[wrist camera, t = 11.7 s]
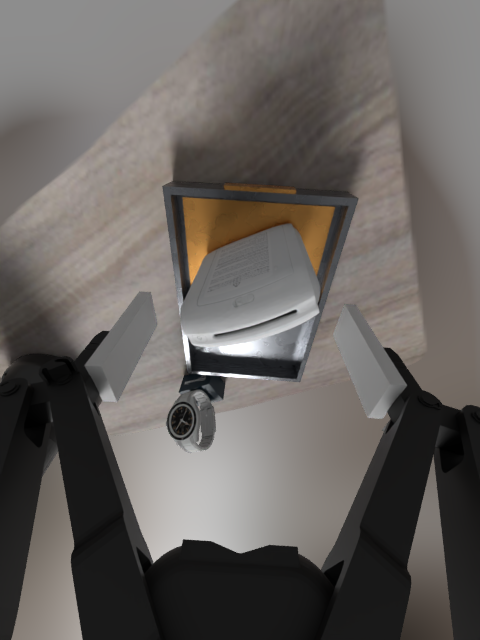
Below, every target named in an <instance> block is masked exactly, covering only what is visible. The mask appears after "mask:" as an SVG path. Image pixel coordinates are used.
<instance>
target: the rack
mask: <svg viewBox="0 0 480 640" xmlns="http://www.w3.org/2000/svg"><path fill="white" fill-rule="evenodd" d="M162 187H163V194H164V201H165V209H166V216H167V224H168V231H169V238H170V246H171V253H172V261H173V268H174V276H175V283H176V290H177V298H178V305H179V313H180V311H181V306H182V304H183V302H184V300H185V298H186V295H187V293H188V291H189V289H190V287H191V285H192V283H193V281H194V278H195V276H196V274H197V272H198V270H199V268H200V265H201V263H202V261H203V259H204V257H205V256H206V255H208V254H209V253H211V252H212V251H214V250H216V249H218V248H221V247H223V246H225V245H228V244H230V243H233V242H235V241H238V240H240V239H243V238H245V237H248V236H250V235H253V234H256V233H258V232H261V231H263V230H266V229H269V228H272V227H275V226H278V225H282V224H288V223H291V224H292V225H293V227H294V228H295V229H296V230H297V231H298V232H299V233H300V235H301V238H302V240H303V243H304V245H305V248H306V251H307V253H308V256H309V258H310V261H311V263H312V266H313V269H314V271H315V274H316V276H317V279H318V281H319V285H320V297H319V301H318V304H317V305H318V308H319V314H317V315H316V316H314V317H312V318H311V319H309V320H307V321H306V322H304V323H302V324H300V325H298V326H295V327H293V328H291V329H289V330H286V331H283V332H281V333H278V334H275V335H272V336H269V337H266V338H262V339H259V340H255V341H251V342H247V343H242V344H237V345H230V346H222V347H200V346H194V345H193V344H191V342H190V340H189V338H188V337H187V336H186V335H185V334H184V333H183V331H182V335H183V342H184V350H185V357H186V365H187V372H188V373H189V374H202V375H215V376H227V377H240V378H253V379H266V380H279V381H292V382H300V381H301V378H302V375H303V372H304V369H305V365H306V362H307V359H308V356H309V353H310V350H311V346H312V343H313V340H314V337H315V334H316V331H317V328H318V324H319V321H320V318H321V315H322V312H323V309H324V305H325V302H326V299H327V296H328V293H329V290H330V287H331V283H332V280H333V277H334V274H335V271H336V268H337V265H338V261H339V258H340V255H341V252H342V249H343V246H344V242H345V239H346V236H347V233H348V230H349V227H350V224H351V220H352V217H353V214H354V211H355V208H356V205H357V202H358V198H357V197H355V196H354V195H352V194H350V193H349V192H342V191H326V190H309V189H295V187H289V186H273V185H257V184H240V183H225V184H213V183H197V182H180V181H172V182H170V183H168V184H166V185H164V186H162ZM181 328H182V327H181Z"/></svg>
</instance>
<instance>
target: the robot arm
mask: <svg viewBox="0 0 480 640" xmlns="http://www.w3.org/2000/svg"><path fill="white" fill-rule="evenodd" d="M156 326H157V319H156V315H155V310H154V305H153V300H152V295H151V292H139V293H138V294H137V296H136V297H135V298H134V300H133V301H132V302H131V304H130V305H129V306H128V308H127V309H126V310H125V312H124V313H123V314H122V316H121V317H120V318H119V320H118V321H117V322H116V324H115V325H114V326H113V328H112V329H111V330H110V331H102V332H100V333H99V334H97V335H96V336H95V337H94V338H93V339H92V340H91V342H90V343H89V344H88V345H87V347H86V348H85V350H83V351H82V353H81V354H80V355H79V356H78V358H77V359H76V360H75V361H73V360H72V359H71V358H70V357H54V356H50V355H43V354H29V355H25V356H22V357H20V358H18V359H17V360H16V361H15V362H14V363H13V364H12V365H10V366H9V367H8V368H7V369H6V371H5V372H4V374H3V376H2V381H1V383H0V640H11V638H12V634H13V630H14V626H15V621H16V617H17V612H18V607H19V601H20V596H21V591H22V585H23V579H24V574H25V569H26V562H27V557H28V552H29V546H30V541H31V535H32V530H33V524H34V519H35V513H36V507H37V502H38V496H39V490H40V485H41V479H42V476H43V474H44V473H45V471H46V470H47V468H48V467H49V465H50V463H51V462H52V460H53V459H54V457H55V456H56V454H57V452H59V458H60V464H61V470H62V475H63V481H64V487H65V492H66V498H67V503H68V509H69V515H70V521H71V527H72V532H73V538H74V550H73V552H72V555H71V567H72V575H73V581H74V587H75V593H76V600H77V606H78V612H79V619H80V625H81V631H82V638H83V640H400V637H401V632H402V627H403V623H404V618H405V613H406V609H407V604H408V600H409V595H410V588H411V576H410V574H409V572H408V570H407V563H408V559H409V555H410V550H411V546H412V542H413V538H414V534H415V529H416V525H417V521H418V517H419V512H420V508H421V504H422V500H423V496H424V492H425V487H426V483H427V479H428V474H429V471H430V466H431V462H432V458H433V454H434V463H435V472H436V481H437V490H438V499H439V509H440V517H441V527H442V536H443V545H444V553H445V563H446V573H447V582H448V591H449V600H450V609H451V619H452V627H453V637H454V640H480V408H479V407H477V406H473V405H467V406H465V407H464V408H463V409H462V410H458V409H455V408H452V407H448V406H445V405H442V403H441V402H440V400H438V399H437V398H436V397H435V396H434V395H432V394H430V393H429V392H426V391H423V390H422V389H421V388H420V386H419V385H418V383H417V382H416V381H415V379H414V377H413V376H412V375H411V373H410V372H409V370H408V369H407V367H406V366H405V364H404V363H403V361H402V360H401V358H400V357H399V356H398V354H397V353H395V352H394V351H393V350H392V349H391V348H383V347H382V345H381V343H380V342H379V340H378V339H377V337H376V336H375V334H374V332H373V331H372V329H371V328H370V326H369V325H368V323H367V321H366V320H365V318H364V317H363V315H362V314H361V312H360V310H359V309H358V307H357V306H356V305H353V304H344V307H343V309H342V312H341V315H340V317H339V320H338V323H337V325H336V328H335V331H334V334H333V336H334V339H335V341H336V343H337V346H338V348H339V351H340V353H341V355H342V358H343V360H344V363H345V365H346V367H347V370H348V372H349V374H350V377H351V379H352V382H353V384H354V386H355V389H356V391H357V394H358V396H359V398H360V401H361V403H362V406H363V408H364V410H365V413H366V415H367V417H368V418H379V419H382V418H383V417H384V416H385V414H386V413H387V412H388V414H389V416H390V418H391V419H390V421H389V422H388V423H387V425H386V426H385V427H384V429H383V430H382V431H384V433H383V436H382V438H381V440H380V443H379V445H378V447H377V449H376V452H375V454H374V456H373V458H372V461H371V463H370V465H369V468H368V470H367V472H366V474H365V477H364V479H363V481H362V484H361V486H360V488H359V490H358V493H357V495H356V497H355V500H354V502H353V504H352V506H351V509H350V511H349V514H348V516H347V518H346V520H345V523H344V525H343V527H342V529H341V532H340V534H339V536H338V539H337V541H336V543H335V545H334V547H333V549H332V550H331V552H330V553H329V555H328V557H327V558H326V560H325V562H324V565H323V567H322V569H321V570H320V569H319V568H318V567H317V566H316V565H315V564H313V563H312V562H311V561H310V560H308V559H307V558H305V557H303V556H302V555H300V554H298V548H297V547H291V546H276V545H268V546H265V547H261V548H258V549H255V550H252V551H248V552H245V553H236V552H234V551H232V550H230V549H227V548H225V547H223V546H221V545H218V544H216V543H214V542H211V541H199V540H183V543H182V546H180V547H177V548H175V549H173V550H171V551H169V552H167V553H166V554H164V555H163V556H161V557H160V558H159V559H158V560H157V561H156V562H155V563H153V560H152V558H151V555H150V552H149V549H148V547H147V544H146V542H145V540H144V538H143V535H142V533H141V531H140V528H139V525H138V522H137V519H136V516H135V513H134V510H133V508H132V505H131V502H130V499H129V496H128V493H127V490H126V487H125V484H124V481H123V478H122V476H121V472H120V470H119V467H118V464H117V461H116V458H115V455H114V452H113V449H112V446H111V443H110V441H109V438H108V435H107V432H106V429H105V426H104V423H103V420H102V417H101V414H100V411H99V409H98V407H99V405H100V403H101V402H102V401H107V402H118V400H119V398H120V396H121V394H122V392H123V390H124V388H125V386H126V384H127V382H128V380H129V378H130V377H131V375H132V373H133V371H134V369H135V367H136V365H137V363H138V361H139V359H140V357H141V355H142V353H143V351H144V349H145V347H146V345H147V344H148V342H149V340H150V338H151V336H152V334H153V332H154V330H155V328H156Z"/></svg>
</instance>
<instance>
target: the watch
mask: <svg viewBox="0 0 480 640" xmlns="http://www.w3.org/2000/svg"><path fill="white" fill-rule="evenodd" d="M224 389H225V383H224V382H223V381H222V379H221V378H220V377H219V376H215V375H202V374H190V375H187V376H184V378H183V381H182V384H181V387H180V390H179V393H180V394H181V395H180V396H179V398H178V399H177V400H176V401H175V403H174V405H173V407H172V408H171V409H170V411H169V414H168V417H167V422H166V426H167V429H168V432H169V434H170V435H171V437H172V438H174V440H175V442H176V444H177V445H179V446H180V447H181V448H182V449H183V450H184V451H186V452H190V453H191V452H197V451H202V450H207V449H208V448H209V447H210V446H211V444H212V442H213V439H214V433H215V431H216V424H215V412H214V407H213V406H212V404H211V403H213V402H217V401H221V400H223V396H224ZM197 406H200V409H201V410H199V409H198V407H197ZM200 425H201V432H202V439H201V442H200V444H199V445H198V444H197V443H196V442H197V441H198V440H199V428H200Z"/></svg>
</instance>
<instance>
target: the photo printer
mask: <svg viewBox="0 0 480 640" xmlns="http://www.w3.org/2000/svg"><path fill="white" fill-rule="evenodd" d="M319 297H320V285H319V281H318V279H317V276H316V274H315V271H314V269H313V266H312V263H311V261H310V258H309V256H308V253H307V251H306V248H305V245H304V243H303V240H302V238H301V235H300V233H299V232H298V231H297V230H296V229H295V228H294V227H293V225H292V224H291V223H288V224H282V225H278V226H275V227H272V228H269V229H266V230H263V231H261V232H258V233H256V234H253V235H250V236H248V237H245V238H243V239H240V240H238V241H235V242H233V243H230V244H228V245H225V246H223V247H221V248H218V249H216V250H214V251H212V252H211V253H209V254H208V255H206V256H205V257H204V259H203V261H202V263H201V265H200V268H199V270H198V272H197V274H196V276H195V278H194V281H193V283H192V285H191V287H190V289H189V291H188V293H187V295H186V298H185V300H184V302H183V304H182V306H181V311H180V321H181V327H182V331H183V333H184V334H185V335H186V336H187V337H188V338H189V340H190V342H191V344H193V345H194V346H200V347H222V346H230V345H237V344H242V343H247V342H251V341H255V340H259V339H262V338H266V337H269V336H272V335H275V334H278V333H281V332H283V331H286V330H289V329H291V328H293V327H295V326H298V325H300V324H302V323H304V322H306V321H307V320H309V319H311V318H312V317H314V316H316V315H317V314H319V308H318V305H317V304H318V301H319Z"/></svg>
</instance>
